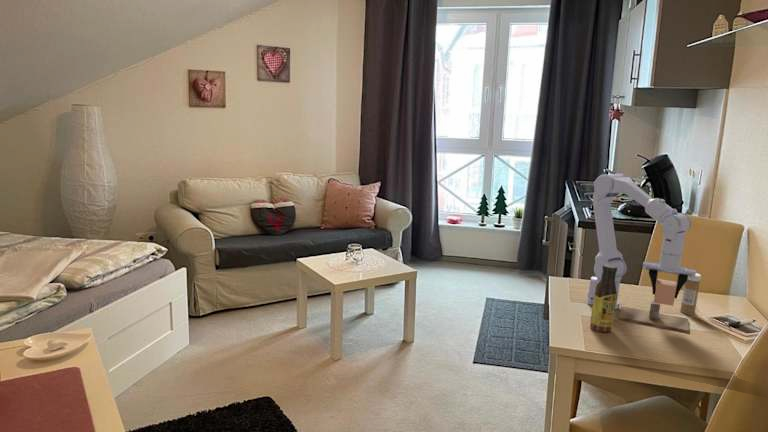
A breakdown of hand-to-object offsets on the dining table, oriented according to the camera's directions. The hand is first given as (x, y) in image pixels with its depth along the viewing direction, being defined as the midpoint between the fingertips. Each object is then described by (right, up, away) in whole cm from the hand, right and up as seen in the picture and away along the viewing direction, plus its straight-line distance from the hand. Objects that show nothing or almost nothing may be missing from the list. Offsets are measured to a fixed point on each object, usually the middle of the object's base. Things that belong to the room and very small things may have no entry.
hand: (664, 295), depth 182 cm
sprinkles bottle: (+14, -8, +14) cm, 22 cm away
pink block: (0, -2, 0) cm, 2 cm away
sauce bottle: (-21, -10, -3) cm, 23 cm away
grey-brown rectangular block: (-1, -9, +6) cm, 11 cm away
